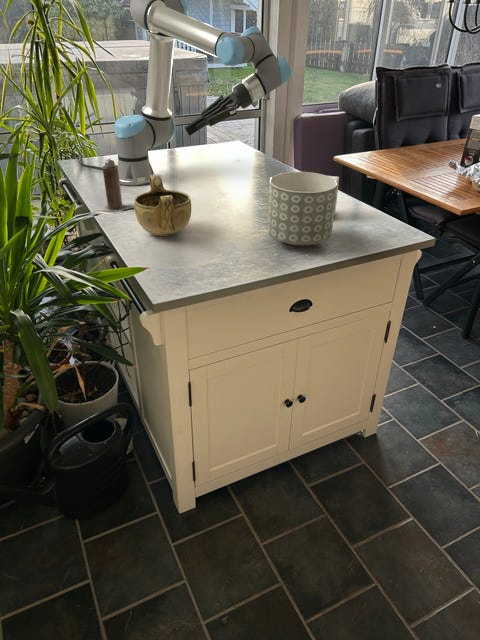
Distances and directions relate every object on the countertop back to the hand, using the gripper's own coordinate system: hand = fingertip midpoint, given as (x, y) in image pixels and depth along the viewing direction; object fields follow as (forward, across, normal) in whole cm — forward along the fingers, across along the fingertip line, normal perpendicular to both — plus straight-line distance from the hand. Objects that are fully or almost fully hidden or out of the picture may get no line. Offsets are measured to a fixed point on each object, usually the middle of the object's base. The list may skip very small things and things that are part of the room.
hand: (187, 131), depth 167 cm
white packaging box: (-24, -30, -36) cm, 53 cm away
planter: (-11, -47, -26) cm, 55 cm away
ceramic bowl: (+23, -28, -10) cm, 37 cm away
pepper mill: (+35, -1, -8) cm, 35 cm away
